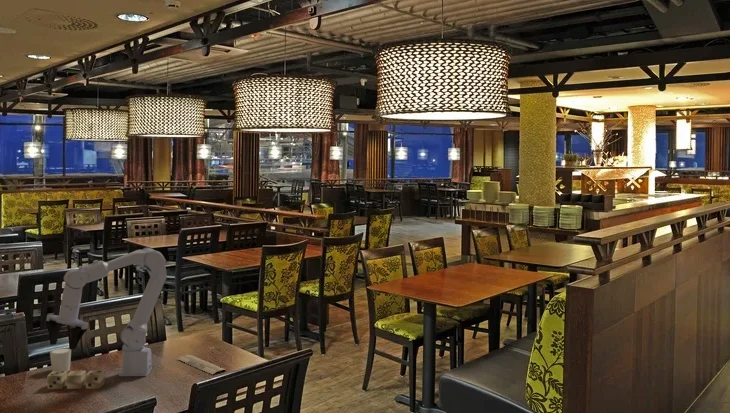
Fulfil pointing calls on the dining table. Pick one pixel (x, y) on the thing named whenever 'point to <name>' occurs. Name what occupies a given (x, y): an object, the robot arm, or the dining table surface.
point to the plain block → (76, 379)
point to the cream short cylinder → (60, 359)
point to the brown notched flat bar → (200, 364)
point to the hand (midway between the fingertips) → (62, 346)
